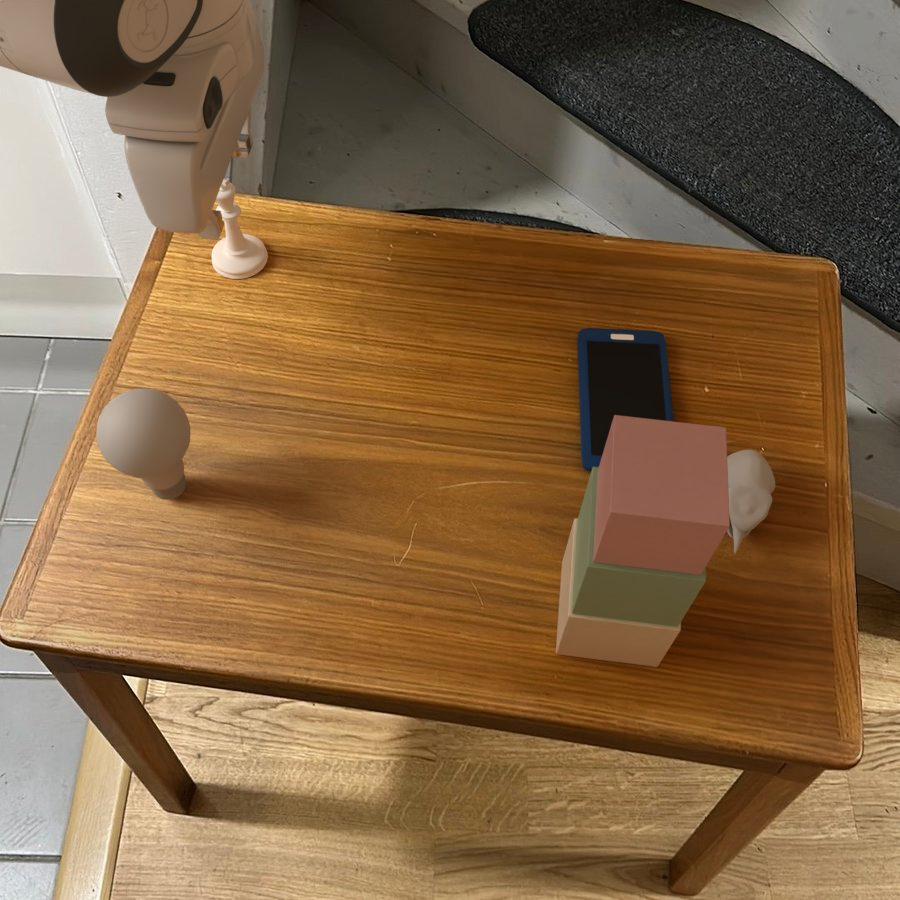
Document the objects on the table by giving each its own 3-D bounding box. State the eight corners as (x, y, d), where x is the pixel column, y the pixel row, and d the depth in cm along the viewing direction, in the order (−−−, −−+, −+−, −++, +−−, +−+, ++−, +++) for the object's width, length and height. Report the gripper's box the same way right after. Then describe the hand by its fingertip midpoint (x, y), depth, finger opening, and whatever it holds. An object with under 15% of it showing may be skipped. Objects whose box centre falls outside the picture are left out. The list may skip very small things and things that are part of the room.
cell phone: (663, 335, 78) (665, 330, 77) (677, 477, 71) (679, 472, 70) (576, 331, 78) (577, 326, 78) (581, 473, 71) (582, 468, 70)
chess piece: (238, 230, 84) (216, 141, 75) (279, 254, 83) (261, 166, 74) (200, 262, 82) (173, 174, 73) (241, 287, 80) (219, 201, 72)
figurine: (764, 477, 71) (785, 444, 67) (755, 569, 67) (776, 540, 63) (715, 466, 72) (732, 432, 67) (702, 557, 67) (720, 526, 63)
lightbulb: (122, 471, 70) (75, 387, 61) (201, 445, 72) (166, 359, 62) (141, 537, 68) (94, 459, 58) (222, 509, 69) (189, 428, 60)
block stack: (555, 654, 63) (600, 519, 46) (561, 562, 67) (605, 405, 50) (657, 667, 63) (740, 536, 46) (658, 574, 67) (735, 420, 50)
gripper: (184, -50, 69) (222, 104, 81) (95, 131, 59) (153, 279, 71) (267, -43, 69) (292, 111, 81) (191, 140, 58) (233, 287, 70)
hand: (227, 191), depth 76 cm, fingers open, 8 cm apart
